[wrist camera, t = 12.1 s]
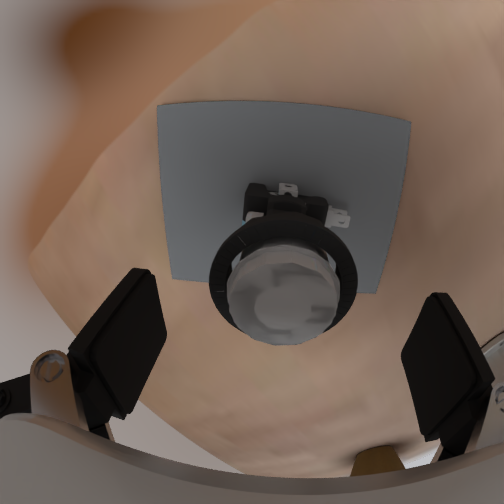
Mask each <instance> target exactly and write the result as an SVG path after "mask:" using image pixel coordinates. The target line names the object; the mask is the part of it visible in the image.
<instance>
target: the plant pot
mask: <svg viewBox="0 0 504 504" xmlns="http://www.w3.org/2000/svg"><path fill="white" fill-rule="evenodd" d="M404 469H405V467H404V465H403V463H402V462H401V460H400V458H399V457H398V455H397V454H396V452H395V451H394V449H393V448H392V447H391V446H381V447H376V448H372V449H369V450H366V451H363V452H361V453H360V454H358V455H357V457H356V460H355V463H354V466H353V469H352V472H351V475H350V477H352V476H363V475H372V474H379V473H386V472H392V471H398V470H404Z"/></svg>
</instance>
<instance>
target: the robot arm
mask: <svg viewBox="0 0 504 504" xmlns="http://www.w3.org/2000/svg"><path fill="white" fill-rule="evenodd" d="M166 338H167V331H166V326H165V322H164V318H163V313H162V309H161V304H160V299H159V294H158V289H157V284H156V279H155V276H154V275H153V274H151V272H150V271H149V270H148V269H140V268H132V269H131V270H130V271H129V273H128V274H127V275H126V276H125V277H124V278H123V279H122V281H121V282H120V283H119V284H118V285H117V287H116V288H115V289H114V290H113V291H112V292H111V294H110V295H109V296H108V297H107V299H106V300H105V301H104V302H103V303H102V305H101V306H100V307H99V308H98V310H97V311H96V312H95V313H94V315H93V316H92V317H91V318H90V320H89V321H88V322H87V323H86V325H85V326H84V327H83V329H82V330H81V331H80V333H79V334H78V335H77V337H76V338H75V339H74V341H73V342H72V343H71V345H70V346H69V347H68V350H69V353H68V354H67V355H65V353H63V352H61V351H59V350H49V351H46V352H44V353H42V354H40V355H39V356H38V357H37V358H36V359H35V360H34V361H33V363H32V365H31V369H30V374H27V375H24V376H21V377H18V378H15V379H12V380H8V381H5V382H2V383H0V504H504V333H502V334H500V335H499V336H497V337H496V338H494V339H493V340H492V341H490V342H489V343H488V344H487V345H485V346H484V347H483V348H482V349H481V348H480V346H479V344H478V343H477V341H476V339H475V337H474V335H473V334H472V332H471V330H470V328H469V327H468V325H467V323H466V322H465V320H464V318H463V316H462V315H461V313H460V312H459V310H458V308H457V307H456V305H455V304H454V302H453V300H452V299H451V297H450V296H449V295H448V293H438V292H434V293H432V294H431V295H430V296H429V297H427V298H426V300H425V303H424V305H423V307H422V310H421V312H420V314H419V316H418V319H417V321H416V323H415V325H414V327H413V329H412V331H411V333H410V335H409V338H408V340H407V342H406V343H405V345H404V347H403V349H402V352H401V360H402V363H403V367H404V370H405V373H406V377H407V380H408V384H409V388H410V391H411V395H412V399H413V403H414V407H415V411H416V415H417V419H418V424H419V428H420V432H421V434H422V435H424V437H425V442H428V441H433V440H437V439H439V438H440V441H441V443H440V445H439V448H438V450H437V452H436V453H435V456H434V457H433V459H432V461H431V463H430V464H427V465H423V466H418V467H413V468H409V469H404V470H398V471H392V472H386V473H379V474H372V475H363V476H352V477H338V478H280V477H265V476H255V475H246V474H238V473H231V472H224V471H218V470H213V469H207V468H202V467H197V466H193V465H189V464H184V463H180V462H176V461H172V460H169V459H165V458H161V457H158V456H155V455H151V454H148V453H145V452H142V451H139V450H136V449H133V448H130V447H127V446H124V445H121V444H119V443H116V442H115V440H114V437H113V434H112V432H111V429H110V426H109V420H110V418H111V416H114V417H116V418H119V419H122V420H124V419H125V417H126V415H127V414H130V413H131V412H132V411H133V409H134V407H135V405H136V403H137V400H138V398H139V396H140V394H141V392H142V389H143V387H144V385H145V383H146V381H147V379H148V377H149V375H150V372H151V370H152V368H153V366H154V364H155V362H156V360H157V358H158V356H159V354H160V352H161V349H162V347H163V345H164V343H165V341H166Z"/></svg>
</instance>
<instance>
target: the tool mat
mask: <svg viewBox="0 0 504 504" xmlns="http://www.w3.org/2000/svg"><path fill="white" fill-rule="evenodd" d="M157 125H158V148H159V165H160V179H161V191H162V202H163V212H164V221H165V230H166V238H167V246H168V253H169V260H170V267H171V274H172V279H178V280H187V281H198V282H208V283H209V273H210V268H211V265H212V262H213V260H214V258H215V255H216V253H217V251H218V250H219V248H220V246H221V245H222V244H223V242H224V241H225V240H226V239H227V238H228V237H229V236H230V235H231V234H232V233H234V232H235V231H236V230H238V229H239V228H240V227H241V226H242V218H243V207H244V196H245V192H246V190H247V187H248V185H249V183H259V184H264V185H265V186H266V188H267V190H269V191H276V192H279V183H287V184H294V185H297V188H298V195H304V196H311V197H312V196H319V197H323V198H325V199H326V200H327V202H328V204H329V205H331V206H332V208H335V209H341V210H346V211H347V212H348V213H347V215H348V216H350V217H351V218H350V222H349V226H348V228H344V227H337V226H331V228H329V227H326V228H328V229H329V230H331V231H332V232H334V233H335V234H336V235H337V236H338V237H339V238H340V239H341V240H342V241H343V242H344V243H345V245H346V246H347V248H348V249H349V251H350V253H351V255H352V257H353V260H354V262H355V265H356V269H357V274H358V288H357V293H375V294H376V291H377V288H378V285H379V281H380V278H381V275H382V271H383V268H384V264H385V261H386V257H387V253H388V250H389V246H390V242H391V238H392V234H393V230H394V225H395V221H396V217H397V212H398V207H399V202H400V197H401V192H402V187H403V181H404V175H405V169H406V162H407V155H408V147H409V139H410V130H411V121H406V120H402V119H398V118H394V117H389V116H384V115H379V114H374V113H369V112H363V111H357V110H351V109H345V108H337V107H330V106H321V105H312V104H301V103H288V102H269V101H211V102H192V103H179V104H168V105H158V106H157ZM286 187H290V186H286ZM337 214H342V213H340V212H339V213H337ZM338 222H339V223H340V224H343V223H344V222H340V221H338ZM241 253H242V252H240V253H239V254H238V255H237V256H236V257H235V259H234V260H233V261H232V271H233V269H234V268H235V266H236V265H237V264H238V263H239V261H240V257H241ZM326 253H327V252H326ZM327 257H328V261H329V264H330V265H331V266H332V268H333V270H334V272H335V269H336V263H335V261H334V260H333V259H332V257H331V256H330V255H329V254H328V253H327Z"/></svg>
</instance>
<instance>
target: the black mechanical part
mask: <svg viewBox="0 0 504 504" xmlns="http://www.w3.org/2000/svg"><path fill="white" fill-rule="evenodd" d="M286 186H290V187H286ZM339 212H340V213H342V214H337V213H339ZM347 213H348V212H347V211H346V210H341V209H335V208H332V206H331V205H329V204H328V202H327V200H326V199H325V198H323V197H319V196H312V197H311V196H304V195H298V188H297V185H294V184H287V183H279V192H276V191H269V190H267V188H266V186H265V185H264V184H259V183H249V185H248V187H247V190H246V192H245V196H244V207H243V218H242V226H241V227H240V228H239V229H238V230H236V231H235V232H234V233H232V234H231V235H230V236H229V237H228V238H227V239H226V240H225V241H224V242H223V244H222V245H221V246H220V248H219V250H218V251H217V253H216V255H215V258H214V260H213V262H212V265H211V268H210V273H209V289H210V293H211V297H212V299H213V302H214V304H215V306H216V308H217V309H218V311H219V312H220V314H221V315H222V316H223V317H224V318H225V319H226V320H227V321H228V322H229V323H230V324H231V325H233V326H234V327H235V328H237V329H238V330H240V331H242V332H243V333H245V334H247V335H248V336H250V337H251V338H253V339H254V340H258V341H261V342H264V343H268V344H272V345H297V344H301V343H303V342H305V341H308V340H310V339H313V338H316V337H317V336H318V335H320V334H322V333H324V332H326V331H327V330H329V329H330V328H332V327H333V326H335V325H336V324H337V323H338V322H339V321H340V320H341V319H342V318H343V317H344V316H345V315H346V314H347V312H348V311H349V309H350V308H351V306H352V304H353V302H354V300H355V296H356V293H357V288H358V274H357V269H356V265H355V262H354V260H353V257H352V255H351V253H350V251H349V249H348V248H347V246H346V245H345V243H344V242H343V241H342V240H341V239H340V238H339V237H338V236H337V235H336V234H335V233H334V232H332V231H331V230H329V229H328V228H326V227H329V228H331V226H337V227H344V228H348V226H349V222H350V218H351V217H350V216H348V215H347ZM338 221H340V222H344V223H343V224H340V223H339V222H338ZM240 252H242V253H241V257H240V261H239V263H238V264H237V265H236V266H235V268H234V269H233V271H232V261H233V260H234V259H235V257H236V256H237V255H238V254H239V253H240ZM326 252H327V253H328V254H329V255H330V256H331V257H332V259H333V260H334V261H335V263H336V269H335V272H334V270H333V268H332V266H331V265H330V264H329V261H328V257H327V253H326Z"/></svg>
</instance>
